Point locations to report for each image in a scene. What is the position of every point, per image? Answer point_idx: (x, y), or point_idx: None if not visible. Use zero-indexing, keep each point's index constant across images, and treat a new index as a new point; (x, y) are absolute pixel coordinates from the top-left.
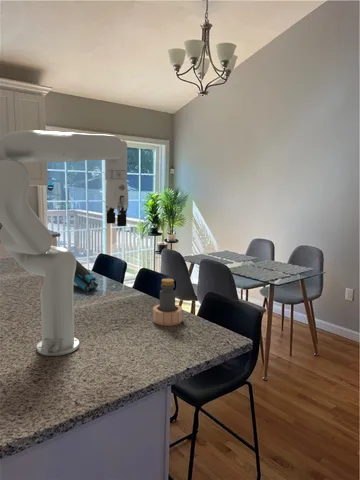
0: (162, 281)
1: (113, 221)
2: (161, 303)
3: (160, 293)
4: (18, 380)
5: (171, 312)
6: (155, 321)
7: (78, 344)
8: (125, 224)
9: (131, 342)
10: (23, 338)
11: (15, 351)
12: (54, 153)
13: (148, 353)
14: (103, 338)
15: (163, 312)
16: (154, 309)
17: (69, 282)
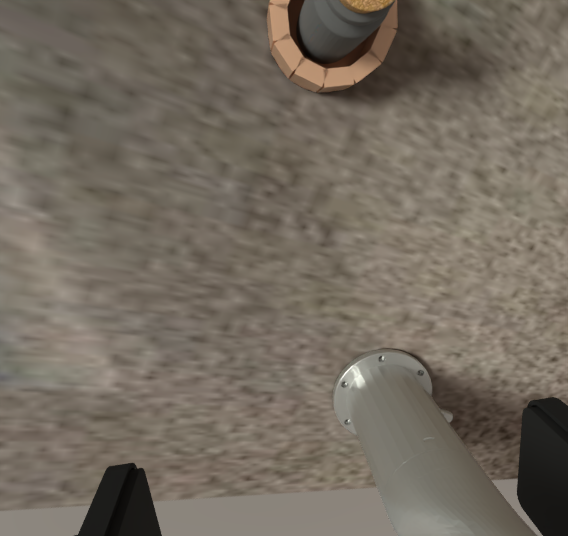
0: (373, 11)
1: (142, 509)
2: (350, 48)
3: (350, 39)
4: (487, 461)
5: (387, 25)
6: (336, 90)
7: (408, 356)
8: (564, 416)
9: (437, 220)
10: (291, 458)
11: (359, 470)
12: None
13: (521, 199)
14: (376, 284)
15: (373, 59)
16: (325, 81)
17: (519, 516)
